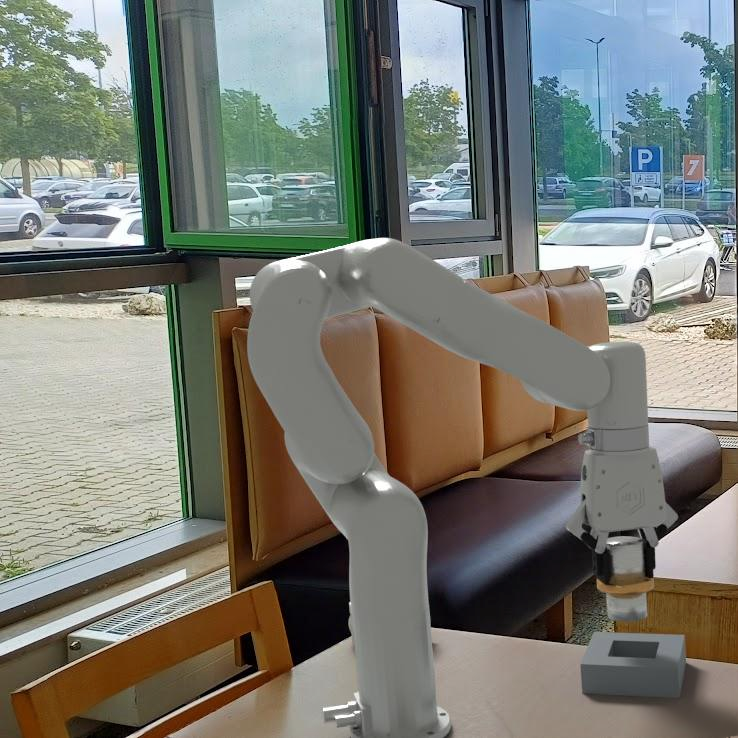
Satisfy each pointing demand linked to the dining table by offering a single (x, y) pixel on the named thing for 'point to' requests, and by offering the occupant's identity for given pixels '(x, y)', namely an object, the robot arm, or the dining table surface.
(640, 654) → the housing
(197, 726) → the dining table surface
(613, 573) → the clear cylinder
